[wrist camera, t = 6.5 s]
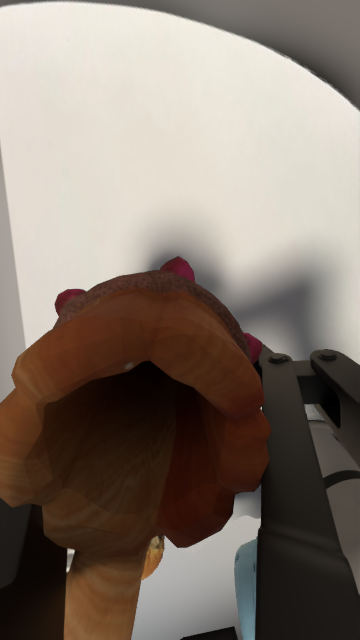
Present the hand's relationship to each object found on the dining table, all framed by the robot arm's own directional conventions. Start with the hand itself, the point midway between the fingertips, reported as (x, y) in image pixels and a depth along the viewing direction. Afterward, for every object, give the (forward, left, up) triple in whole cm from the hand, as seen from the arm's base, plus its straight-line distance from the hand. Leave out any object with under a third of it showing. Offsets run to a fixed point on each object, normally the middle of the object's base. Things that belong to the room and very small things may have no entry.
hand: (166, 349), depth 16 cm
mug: (+1, 0, -3) cm, 3 cm away
